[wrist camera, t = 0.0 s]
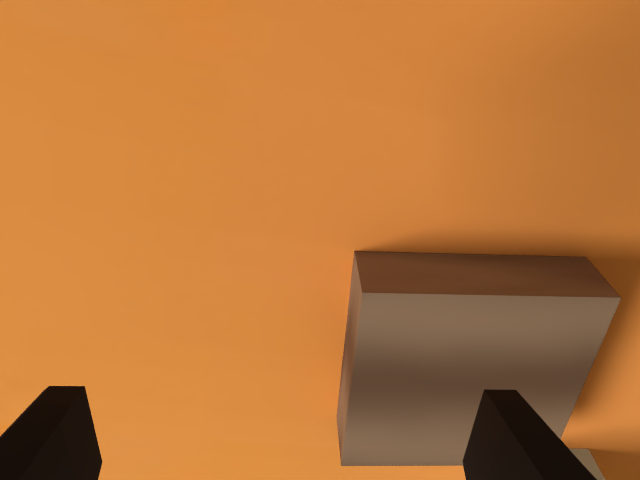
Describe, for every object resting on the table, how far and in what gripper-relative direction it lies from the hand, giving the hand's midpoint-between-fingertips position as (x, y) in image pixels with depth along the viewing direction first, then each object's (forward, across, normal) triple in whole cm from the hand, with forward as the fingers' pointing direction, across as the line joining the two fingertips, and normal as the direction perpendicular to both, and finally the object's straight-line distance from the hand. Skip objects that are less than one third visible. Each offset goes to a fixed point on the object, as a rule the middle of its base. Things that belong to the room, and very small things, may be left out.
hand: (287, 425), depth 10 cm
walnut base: (+11, -7, +7) cm, 15 cm away
